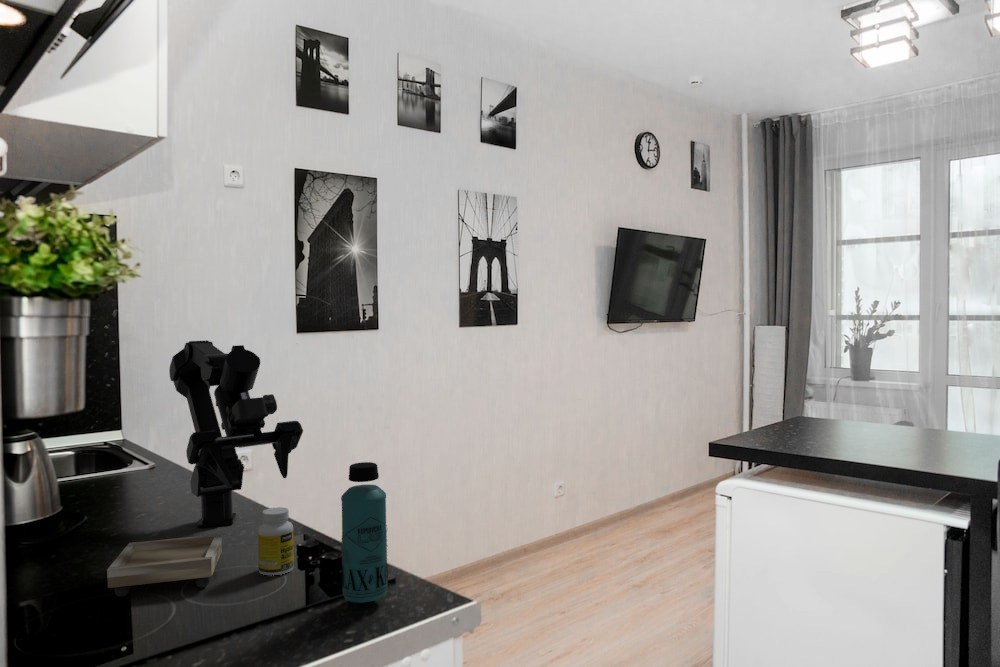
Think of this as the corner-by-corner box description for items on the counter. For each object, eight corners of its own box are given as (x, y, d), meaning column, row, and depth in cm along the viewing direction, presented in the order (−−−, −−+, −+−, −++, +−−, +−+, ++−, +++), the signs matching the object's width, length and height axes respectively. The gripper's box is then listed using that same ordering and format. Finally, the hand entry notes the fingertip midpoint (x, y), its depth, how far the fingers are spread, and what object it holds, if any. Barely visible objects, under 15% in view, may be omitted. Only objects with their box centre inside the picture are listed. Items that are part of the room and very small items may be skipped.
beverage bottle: (333, 604, 97) (329, 464, 96) (372, 590, 101) (369, 456, 101) (358, 618, 92) (355, 471, 91) (399, 603, 97) (395, 463, 96)
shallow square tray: (130, 571, 111) (129, 542, 110) (222, 561, 114) (221, 534, 114) (108, 601, 99) (107, 569, 99) (212, 589, 103) (210, 558, 102)
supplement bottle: (284, 578, 107) (282, 516, 106) (252, 576, 108) (250, 515, 107) (300, 565, 112) (298, 506, 112) (269, 564, 113) (267, 505, 113)
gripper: (188, 384, 113) (209, 461, 105) (297, 376, 125) (324, 445, 116) (178, 426, 120) (197, 501, 111) (283, 414, 131) (307, 482, 123)
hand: (258, 481), depth 115 cm, fingers open, 9 cm apart
